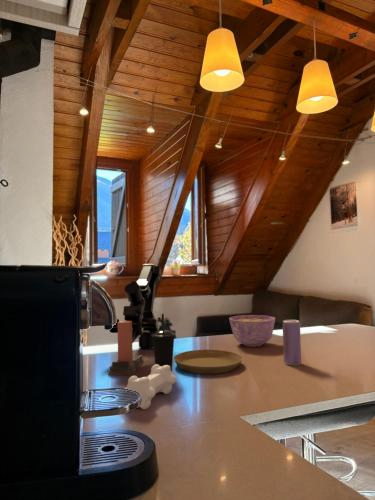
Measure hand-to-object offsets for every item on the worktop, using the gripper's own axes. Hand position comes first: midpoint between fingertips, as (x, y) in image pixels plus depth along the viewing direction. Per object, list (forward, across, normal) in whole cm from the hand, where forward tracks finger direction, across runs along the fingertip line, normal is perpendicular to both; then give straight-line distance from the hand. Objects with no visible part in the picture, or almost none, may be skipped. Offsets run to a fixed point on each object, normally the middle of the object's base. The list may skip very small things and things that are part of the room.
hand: (128, 345), depth 135 cm
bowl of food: (-19, +46, +30) cm, 58 cm away
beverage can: (+2, +58, +8) cm, 59 cm away
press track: (+7, 0, +3) cm, 8 cm away
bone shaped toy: (+28, +15, -18) cm, 37 cm away
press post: (+8, 0, +1) cm, 8 cm away
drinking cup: (+14, +15, -4) cm, 21 cm away
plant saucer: (+5, +28, +6) cm, 29 cm away
